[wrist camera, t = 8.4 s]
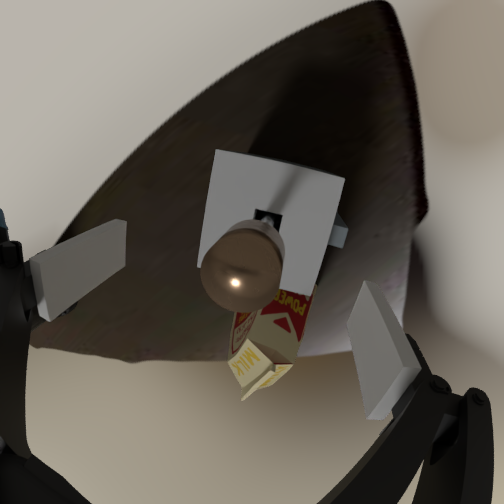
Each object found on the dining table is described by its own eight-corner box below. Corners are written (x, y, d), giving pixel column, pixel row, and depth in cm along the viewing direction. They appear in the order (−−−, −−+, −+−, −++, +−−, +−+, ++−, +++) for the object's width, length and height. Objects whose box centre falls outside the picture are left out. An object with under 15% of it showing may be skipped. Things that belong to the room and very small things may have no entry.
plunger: (241, 223, 38) (159, 320, 15) (254, 164, 35) (172, 177, 12) (300, 238, 37) (297, 358, 15) (315, 179, 34) (346, 217, 12)
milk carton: (267, 250, 40) (238, 331, 21) (320, 283, 40) (329, 380, 21) (236, 295, 43) (193, 387, 24) (285, 325, 43) (271, 426, 25)
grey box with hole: (232, 229, 40) (197, 266, 26) (247, 152, 36) (216, 149, 22) (321, 251, 38) (330, 301, 25) (341, 175, 35) (367, 185, 21)
